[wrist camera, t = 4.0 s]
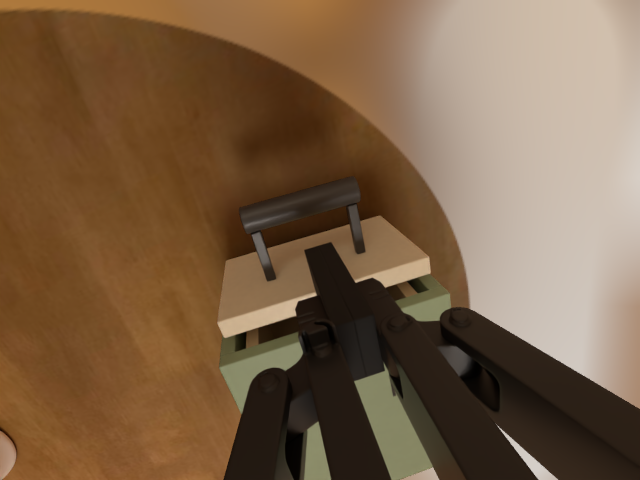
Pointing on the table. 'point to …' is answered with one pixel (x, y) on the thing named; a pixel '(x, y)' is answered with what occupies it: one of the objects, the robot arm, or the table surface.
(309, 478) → the cabinet
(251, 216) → the drawer
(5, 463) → the mug
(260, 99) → the table surface
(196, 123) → the table surface
